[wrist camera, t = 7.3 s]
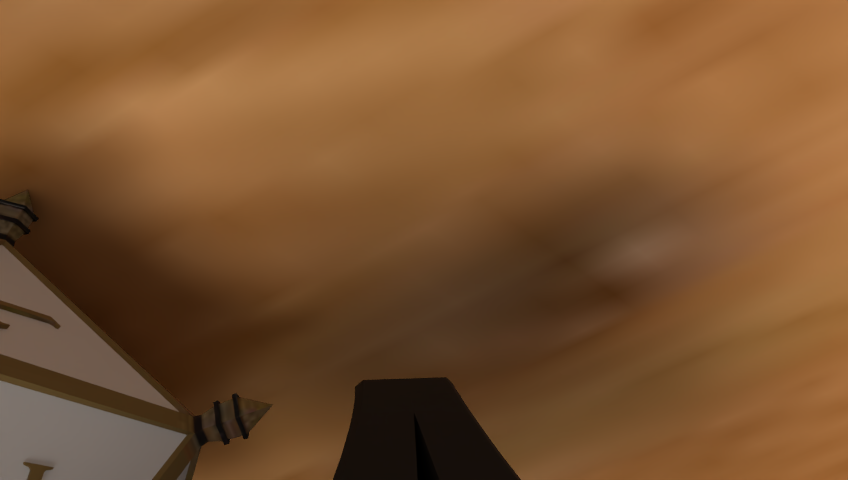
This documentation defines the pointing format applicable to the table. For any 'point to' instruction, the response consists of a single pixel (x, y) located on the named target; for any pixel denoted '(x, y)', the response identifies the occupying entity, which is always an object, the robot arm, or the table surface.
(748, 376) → the table surface
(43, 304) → the game die
